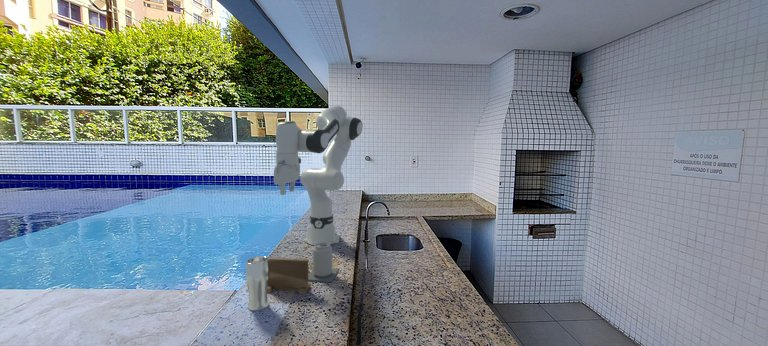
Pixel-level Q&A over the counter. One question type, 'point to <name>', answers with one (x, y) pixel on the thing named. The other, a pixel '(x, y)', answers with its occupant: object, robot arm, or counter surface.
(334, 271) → the slate mat
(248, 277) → the beer glass
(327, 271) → the can
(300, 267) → the walnut screen
